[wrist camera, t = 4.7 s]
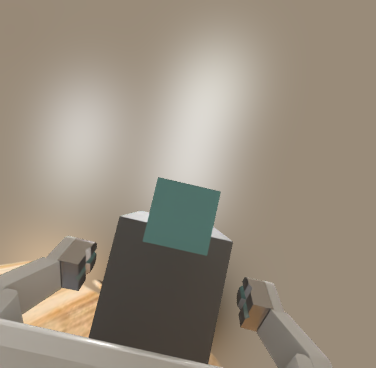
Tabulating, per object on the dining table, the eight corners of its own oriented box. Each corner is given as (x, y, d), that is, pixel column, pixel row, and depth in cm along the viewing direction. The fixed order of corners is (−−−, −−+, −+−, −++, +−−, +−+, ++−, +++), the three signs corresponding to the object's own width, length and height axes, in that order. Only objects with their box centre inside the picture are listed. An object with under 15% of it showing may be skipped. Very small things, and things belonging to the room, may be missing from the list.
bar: (206, 255, 13) (220, 191, 13) (142, 241, 13) (158, 177, 13) (188, 220, 37) (193, 197, 37) (166, 215, 37) (171, 192, 37)
